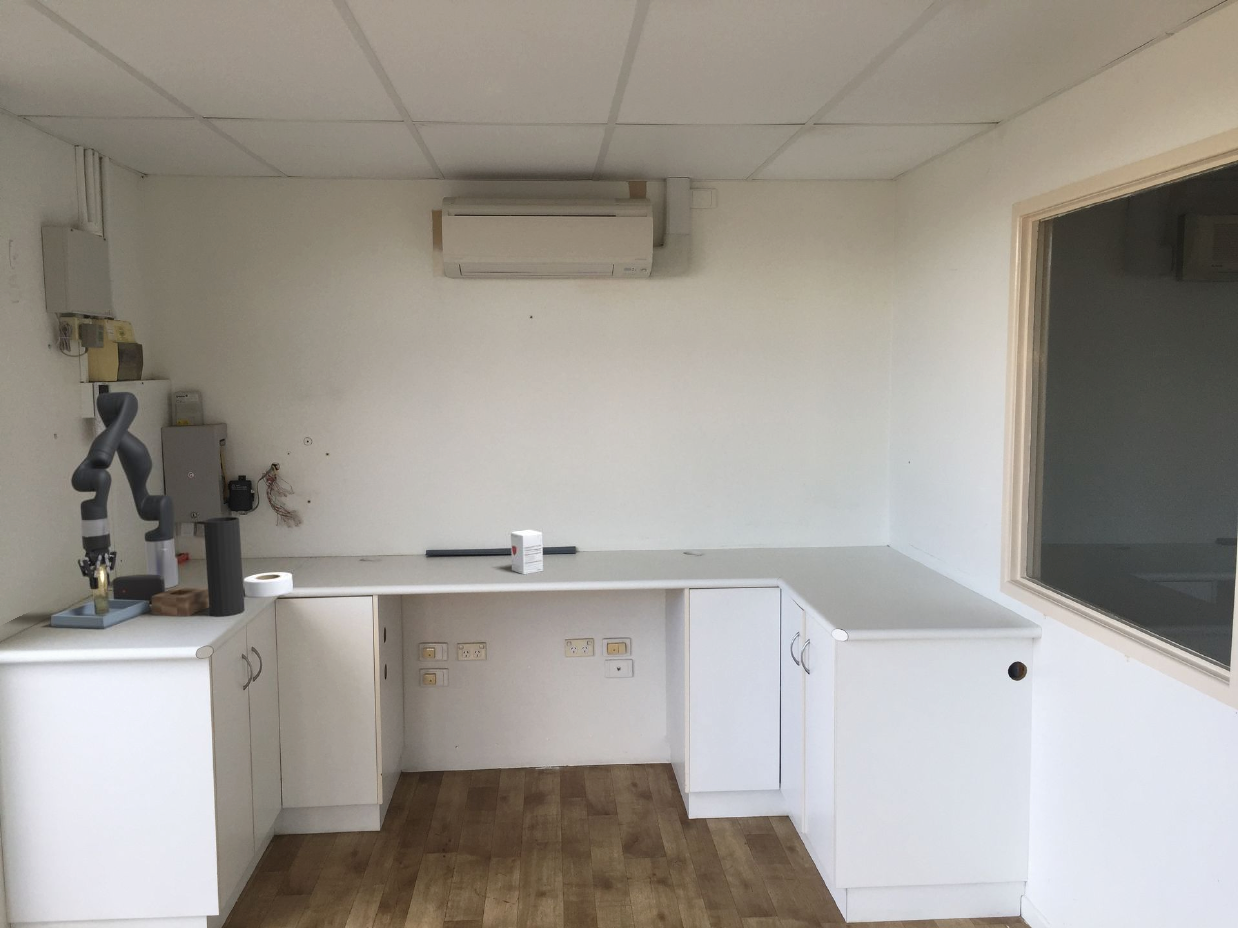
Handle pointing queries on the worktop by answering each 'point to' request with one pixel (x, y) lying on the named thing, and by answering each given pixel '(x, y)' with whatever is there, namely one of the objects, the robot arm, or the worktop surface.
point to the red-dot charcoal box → (138, 587)
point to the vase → (224, 566)
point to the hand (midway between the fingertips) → (100, 586)
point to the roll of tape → (268, 584)
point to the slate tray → (88, 618)
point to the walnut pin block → (180, 601)
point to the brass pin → (101, 592)
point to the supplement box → (526, 551)
